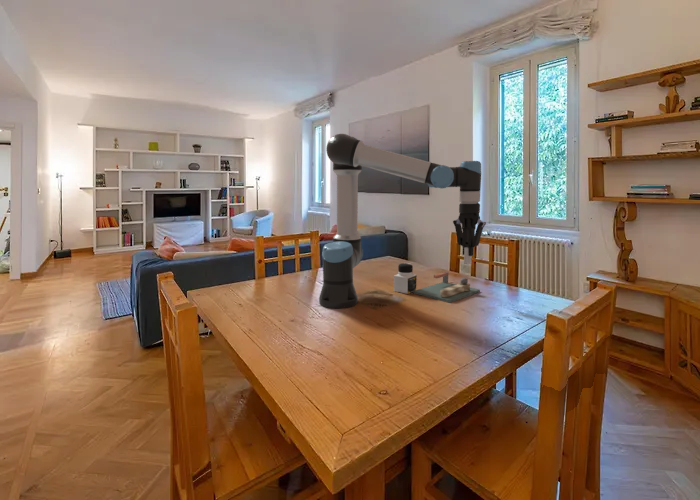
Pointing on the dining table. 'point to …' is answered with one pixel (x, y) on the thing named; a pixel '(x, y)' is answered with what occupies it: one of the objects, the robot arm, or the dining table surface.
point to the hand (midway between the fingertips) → (467, 263)
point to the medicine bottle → (405, 279)
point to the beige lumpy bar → (454, 289)
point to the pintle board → (435, 289)
